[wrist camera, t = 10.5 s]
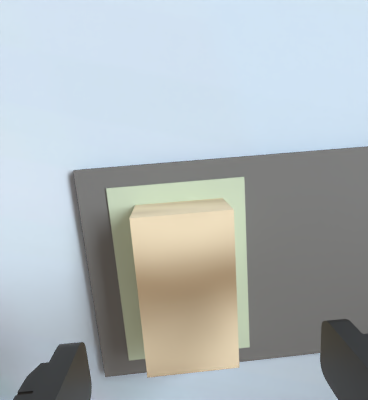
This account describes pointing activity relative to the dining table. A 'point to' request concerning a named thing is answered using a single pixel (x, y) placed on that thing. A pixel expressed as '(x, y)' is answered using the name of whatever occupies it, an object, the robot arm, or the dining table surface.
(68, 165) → the dining table surface
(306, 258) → the grey board
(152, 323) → the maple tile
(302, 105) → the dining table surface
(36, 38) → the dining table surface
